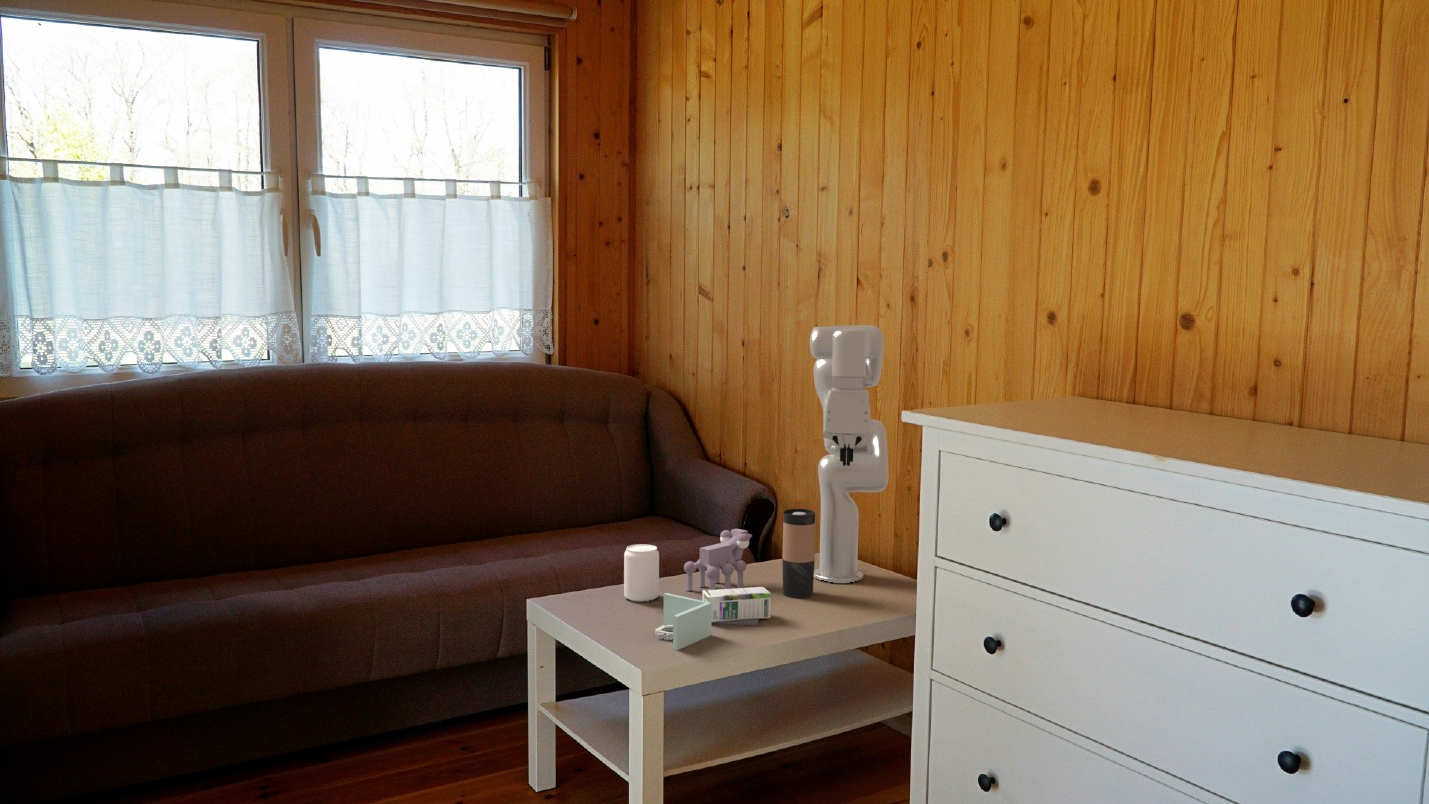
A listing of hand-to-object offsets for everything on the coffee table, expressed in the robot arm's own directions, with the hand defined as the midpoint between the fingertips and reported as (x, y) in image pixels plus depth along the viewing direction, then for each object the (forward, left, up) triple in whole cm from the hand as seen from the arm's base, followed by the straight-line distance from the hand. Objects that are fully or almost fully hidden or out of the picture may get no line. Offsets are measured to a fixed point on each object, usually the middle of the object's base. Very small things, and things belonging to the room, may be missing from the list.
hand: (846, 464), depth 243 cm
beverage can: (+1, -47, -33) cm, 58 cm away
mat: (+9, -28, -33) cm, 44 cm away
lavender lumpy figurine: (-12, -29, -33) cm, 46 cm away
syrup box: (+10, -16, -30) cm, 35 cm away
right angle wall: (+28, -35, -34) cm, 56 cm away
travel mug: (-9, -11, -33) cm, 36 cm away
